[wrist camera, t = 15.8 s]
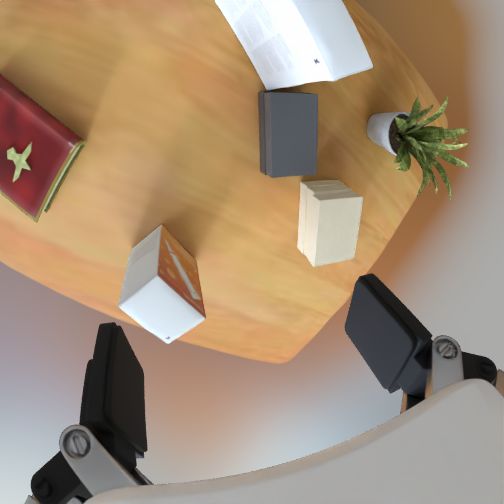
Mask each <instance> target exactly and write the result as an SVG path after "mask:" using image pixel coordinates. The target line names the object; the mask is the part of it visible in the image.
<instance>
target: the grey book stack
mask: <svg viewBox="0 0 504 504" xmlns="http://www.w3.org/2000/svg"><path fill="white" fill-rule="evenodd" d="M258 99H259V133H260V171H261V172H262V173H263V174H265V175H269V176H270V177H271V178H273V177H286V176H300V175H316V171H317V140H318V95H317V94H310V93H298V92H259V93H258Z"/></svg>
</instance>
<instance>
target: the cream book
mask: <svg viewBox="0 0 504 504" xmlns="http://www.w3.org/2000/svg"><path fill="white" fill-rule="evenodd" d="M362 203H363V196H361V195H359V194H358V193H356V192H343V193H329V194H317V195H312V205H311V221H310V235H309V248H308V260H309V261H310V263H311V264H312V265H313V266H314V267H315V266H320V265H325V264H330V263H335V262H340V261H345V260H350V259H354V255H355V249H356V243H357V237H358V231H359V224H360V217H361V210H362Z"/></svg>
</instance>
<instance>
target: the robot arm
mask: <svg viewBox="0 0 504 504" xmlns="http://www.w3.org/2000/svg"><path fill="white" fill-rule="evenodd" d="M345 331H346V333H347V335H348V336H349V338H350V339H351V341H352V342H353V344H354V345H355V347H356V348H357V349H358V351H359V352H360V354H361V355H362V357H363V358H364V360H365V361H366V363H367V364H368V366H369V367H370V369H371V370H372V372H373V373H374V375H375V376H376V378H377V379H378V381H379V382H380V384H381V385H382V386H383V388H385V389H388V391H389V392H390V393H393V392H395V391H396V390H398V389H400V388H401V389H402V390H403V398H402V405H401V412H400V415H398V416H396V417H394V418H392V419H391V420H389V421H387V422H385V423H383V424H381V425H379V426H377V427H375V428H373V429H371V430H369V431H367V432H365V433H363V434H361V435H359V436H356V437H354V438H352V439H350V440H347V441H345V442H343V443H340V444H338V445H336V446H333V447H331V448H328V449H325V450H323V451H320V452H317V453H314V454H312V455H309V456H306V457H303V458H300V459H296V460H293V461H290V462H287V463H283V464H280V465H277V466H272V467H269V468H265V469H261V470H257V471H252V472H248V473H243V474H238V475H233V476H227V477H222V478H215V479H208V480H201V481H193V482H184V483H172V484H159V485H158V484H157V485H154V484H153V483H152V482H151V481H150V480H148V479H147V478H146V477H145V476H144V475H143V474H142V473H141V472H140V471H139V470H138V469H137V468H136V466H137V465H136V458H144V452H146V451H147V437H146V422H145V400H144V373H143V369H142V367H141V365H140V363H139V361H138V360H137V358H136V356H135V354H134V352H133V350H132V349H131V346H130V344H129V342H128V340H127V338H126V336H125V334H124V332H123V329H122V328H121V326H117V325H116V323H114V322H112V323H104V324H100V326H99V330H98V334H97V339H96V344H95V349H94V355H93V359H91V360H89V361H88V364H87V369H86V374H85V380H84V387H83V395H82V404H81V413H80V423H79V425H71V426H69V427H67V428H66V429H65V430H64V431H63V432H62V434H61V436H60V440H59V446H60V451H59V452H58V453H57V454H56V455H55V456H54V457H53V458H52V459H51V460H50V461H48V462H47V463H46V464H45V465H44V466H43V467H42V468H41V469H40V470H38V471H37V472H36V473H35V474H34V476H33V477H32V480H31V490H32V493H33V495H32V496H30V495H29V496H28V498H27V500H26V502H25V504H504V371H502V370H500V369H498V370H497V369H496V366H495V364H494V363H493V362H492V360H490V359H489V358H487V357H483V356H478V355H475V354H470V353H466V352H462V351H461V349H460V346H459V344H458V343H457V342H456V341H455V340H454V339H453V338H451V337H449V336H446V335H441V336H437V337H436V338H435V339H434V341H432V340H431V337H432V334H431V333H430V332H429V331H428V330H427V329H426V328H425V327H424V326H423V325H422V323H421V322H420V321H419V320H418V319H417V318H416V317H415V316H414V315H413V314H412V313H411V312H410V310H409V309H407V307H406V306H405V305H404V304H403V303H402V302H401V301H400V300H399V299H398V298H397V297H396V296H395V295H394V294H393V293H392V292H391V291H390V290H389V289H388V288H387V287H386V286H385V285H384V284H383V283H382V282H381V281H380V280H379V279H378V278H377V277H376V276H375V275H374V274H367V275H363V276H360V277H359V278H358V280H357V281H356V283H355V287H354V291H353V296H352V300H351V304H350V308H349V312H348V316H347V319H346V323H345Z"/></svg>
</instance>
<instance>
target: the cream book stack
mask: <svg viewBox="0 0 504 504" xmlns="http://www.w3.org/2000/svg"><path fill="white" fill-rule="evenodd" d="M343 192H352V189H351V188H349V187H347V186H345V183H343V182H341V181H339V180H320V181H305V182H300V207H299V229H298V249H299V250H300V251H301V252H302V253H303V254H305V255H306V256H307V257H308V248H309V235H310V221H311V205H312V195H317V194H329V193H343Z"/></svg>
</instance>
